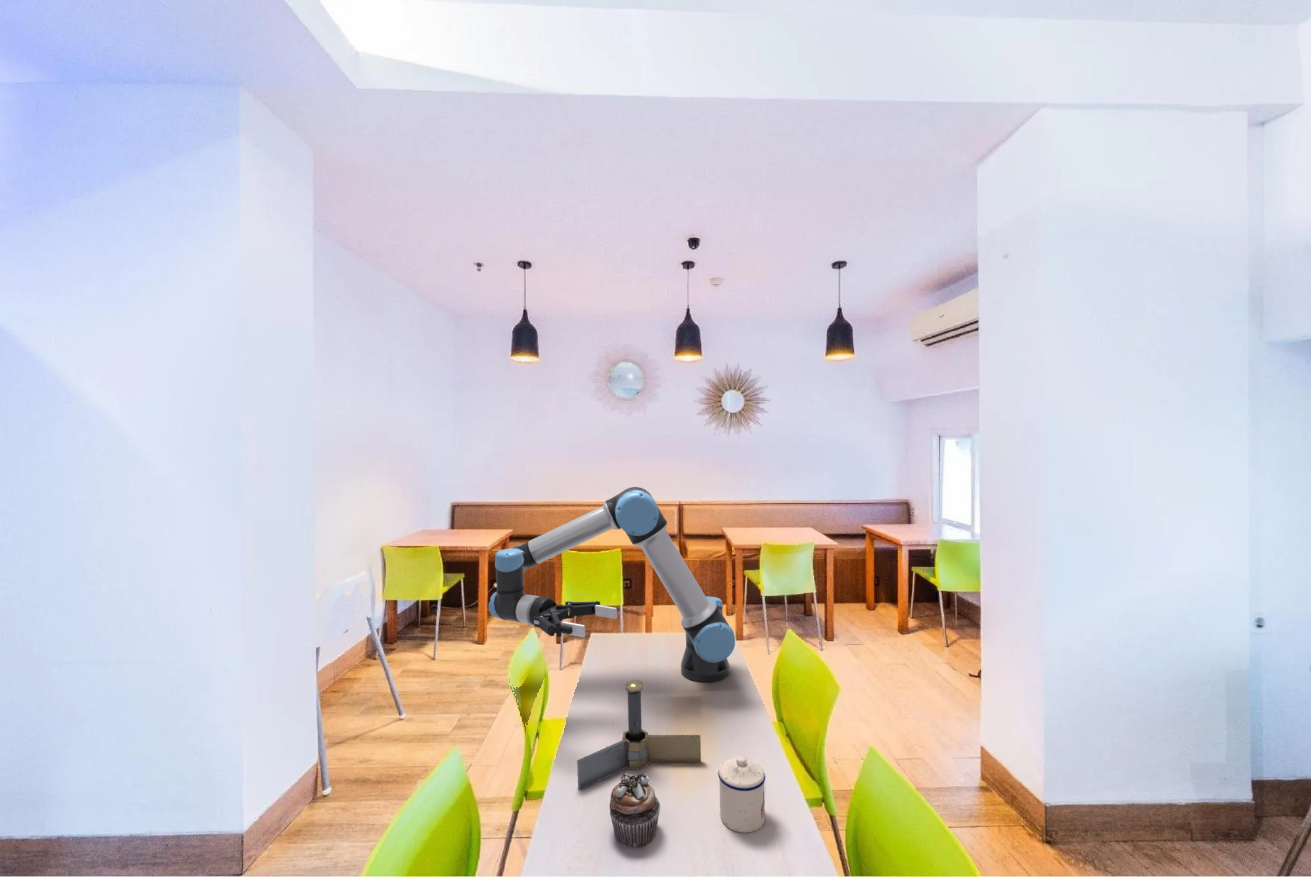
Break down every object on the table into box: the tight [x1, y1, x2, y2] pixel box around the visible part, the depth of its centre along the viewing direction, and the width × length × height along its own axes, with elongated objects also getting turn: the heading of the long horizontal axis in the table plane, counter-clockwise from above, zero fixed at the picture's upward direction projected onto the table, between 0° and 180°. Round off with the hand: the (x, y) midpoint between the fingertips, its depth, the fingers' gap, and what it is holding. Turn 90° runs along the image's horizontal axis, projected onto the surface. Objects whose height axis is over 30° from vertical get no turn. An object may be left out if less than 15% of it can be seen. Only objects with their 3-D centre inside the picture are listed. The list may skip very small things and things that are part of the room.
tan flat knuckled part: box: [621, 729, 702, 770], centre depth 123 cm, size 18×6×6 cm, turn 87°
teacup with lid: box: [717, 755, 766, 833], centre depth 106 cm, size 12×9×12 cm
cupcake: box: [609, 771, 661, 849], centre depth 101 cm, size 10×10×10 cm
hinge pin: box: [624, 679, 644, 742], centre depth 123 cm, size 4×4×18 cm
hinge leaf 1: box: [576, 739, 648, 790], centre depth 119 cm, size 18×6×6 cm, turn 127°
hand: (601, 622), depth 135 cm, fingers open, 13 cm apart
